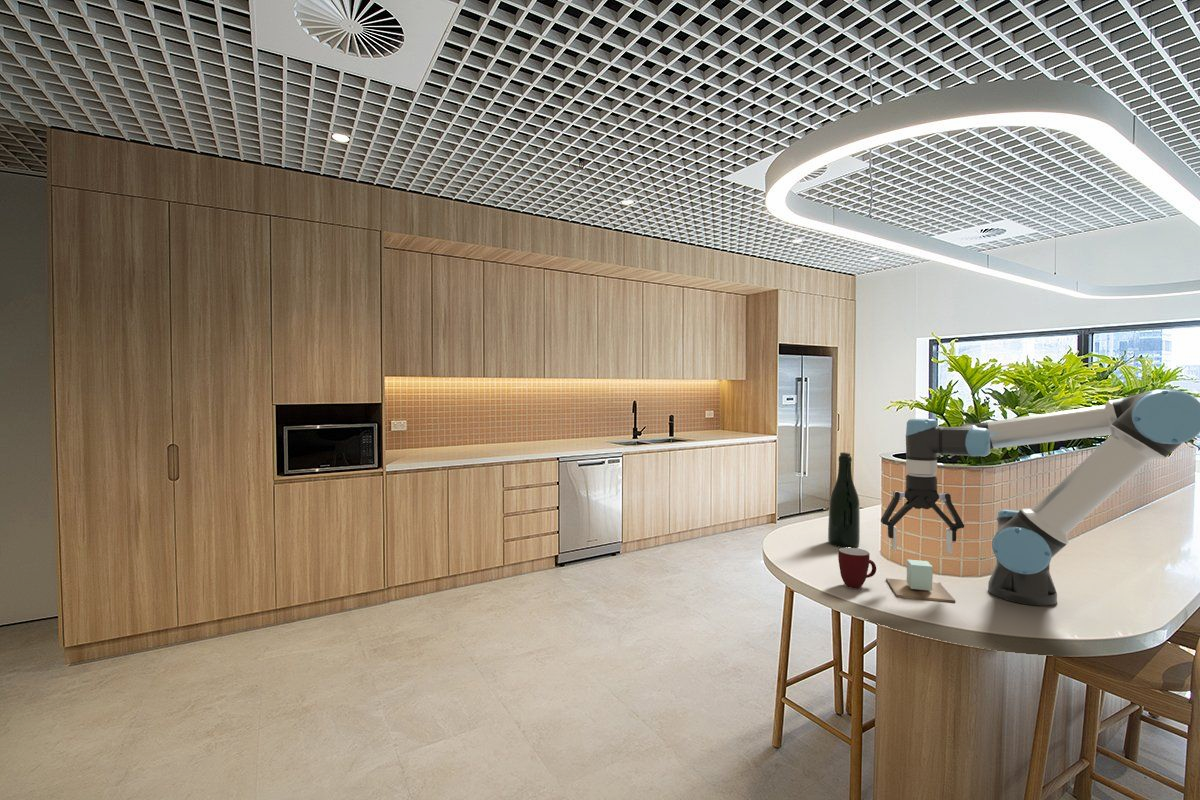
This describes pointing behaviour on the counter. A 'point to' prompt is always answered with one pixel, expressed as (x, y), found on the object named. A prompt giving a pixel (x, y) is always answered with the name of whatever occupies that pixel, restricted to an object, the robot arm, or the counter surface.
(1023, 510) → the robot arm
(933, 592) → the brown square plate
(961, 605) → the counter surface
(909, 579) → the pale green block
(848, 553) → the mug
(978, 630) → the counter surface
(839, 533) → the dark green wine bottle
